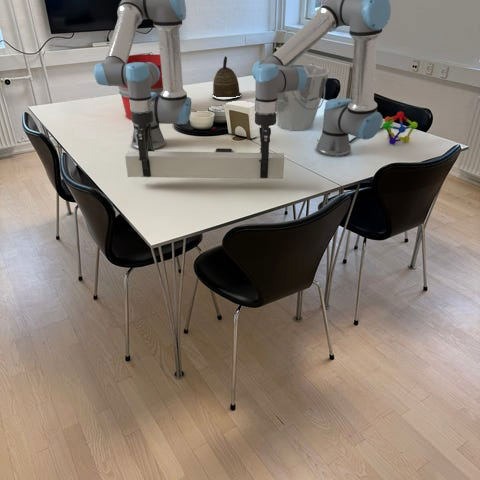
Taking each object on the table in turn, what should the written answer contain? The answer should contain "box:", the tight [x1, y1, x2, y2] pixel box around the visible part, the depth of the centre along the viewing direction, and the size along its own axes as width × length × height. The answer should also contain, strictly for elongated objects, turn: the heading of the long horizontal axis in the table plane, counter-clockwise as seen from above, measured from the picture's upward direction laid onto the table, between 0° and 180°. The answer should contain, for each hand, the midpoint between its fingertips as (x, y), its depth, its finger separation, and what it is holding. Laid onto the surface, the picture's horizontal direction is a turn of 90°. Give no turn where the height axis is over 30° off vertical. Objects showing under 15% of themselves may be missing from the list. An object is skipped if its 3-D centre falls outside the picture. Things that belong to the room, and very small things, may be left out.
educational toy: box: [382, 110, 418, 145], centre depth 207 cm, size 16×13×15 cm
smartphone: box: [215, 147, 233, 152], centre depth 195 cm, size 7×1×15 cm
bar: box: [124, 150, 286, 180], centre depth 164 cm, size 58×5×8 cm, turn 89°
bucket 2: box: [276, 63, 330, 131], centre depth 226 cm, size 30×30×28 cm
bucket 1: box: [117, 51, 163, 121], centre depth 240 cm, size 35×35×30 cm
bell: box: [212, 56, 242, 97], centre depth 278 cm, size 19×26×20 cm
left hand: (148, 172), depth 166 cm, fingers closed on bar, 5 cm apart
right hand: (263, 174), depth 165 cm, fingers closed on bar, 5 cm apart
